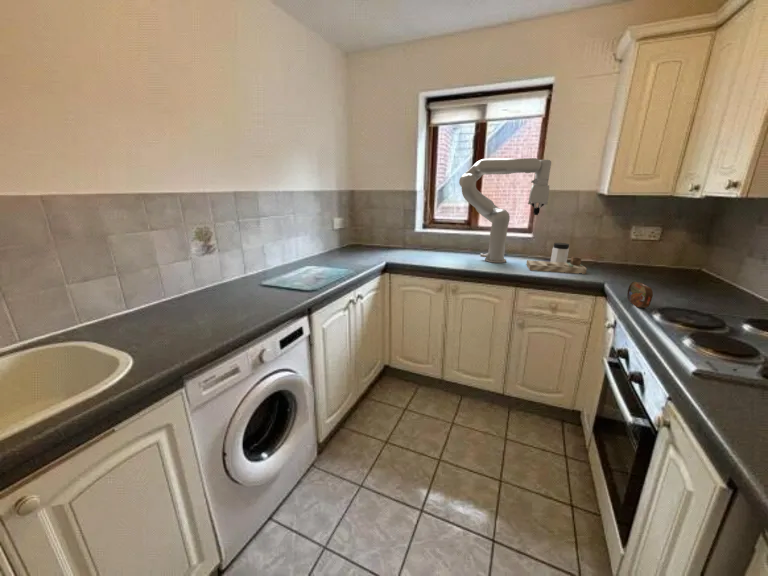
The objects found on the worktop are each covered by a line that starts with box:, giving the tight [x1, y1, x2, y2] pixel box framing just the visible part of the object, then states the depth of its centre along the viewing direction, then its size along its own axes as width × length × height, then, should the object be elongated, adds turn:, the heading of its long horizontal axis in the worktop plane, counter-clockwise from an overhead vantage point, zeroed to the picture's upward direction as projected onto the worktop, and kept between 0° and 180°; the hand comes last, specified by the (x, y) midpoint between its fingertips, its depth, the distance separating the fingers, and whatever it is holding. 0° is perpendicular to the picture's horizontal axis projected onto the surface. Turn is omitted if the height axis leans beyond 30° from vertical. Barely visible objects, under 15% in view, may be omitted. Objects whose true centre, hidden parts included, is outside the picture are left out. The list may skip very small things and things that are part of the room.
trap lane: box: [525, 260, 588, 275], centre depth 185 cm, size 28×13×3 cm, turn 75°
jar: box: [549, 242, 570, 263], centre depth 199 cm, size 9×8×12 cm
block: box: [569, 256, 582, 265], centre depth 184 cm, size 4×4×4 cm
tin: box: [626, 281, 654, 309], centre depth 128 cm, size 15×3×8 cm, turn 163°
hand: (535, 214), depth 196 cm, fingers closed
